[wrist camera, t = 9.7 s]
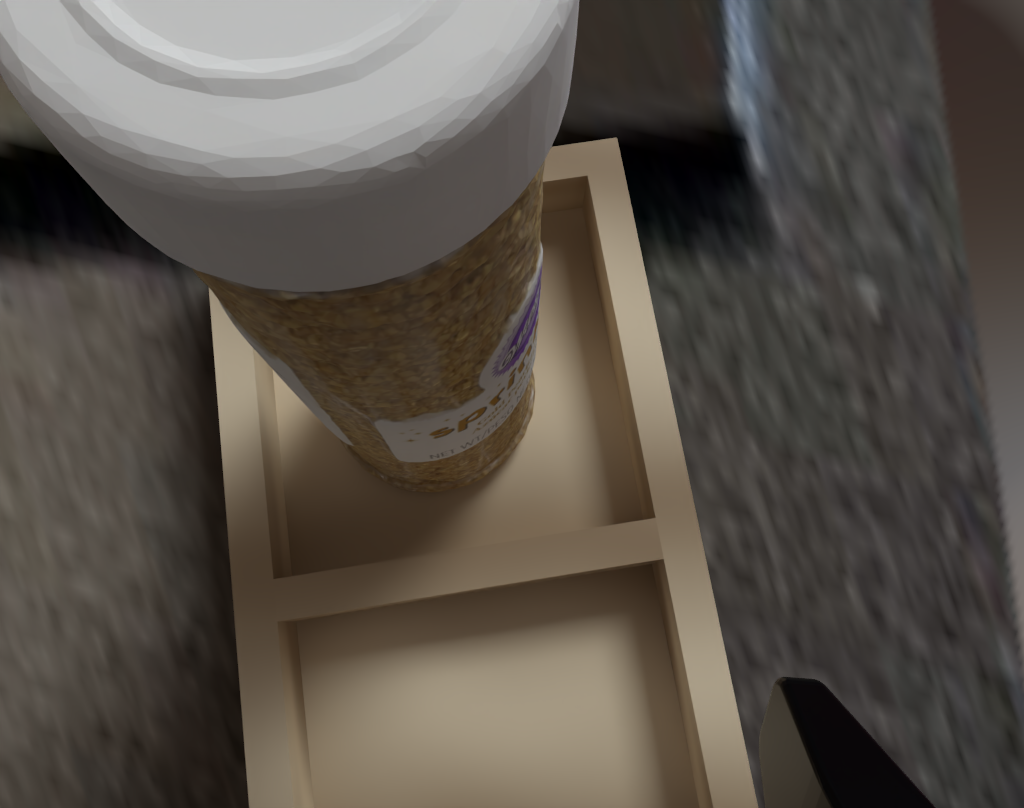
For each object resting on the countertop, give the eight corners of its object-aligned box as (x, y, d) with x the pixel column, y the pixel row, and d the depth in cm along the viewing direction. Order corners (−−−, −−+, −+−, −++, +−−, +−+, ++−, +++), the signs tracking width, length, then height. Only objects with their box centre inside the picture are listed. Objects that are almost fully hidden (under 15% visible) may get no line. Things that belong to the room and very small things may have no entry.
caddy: (762, 975, 17) (806, 1038, 15) (311, 1057, 17) (274, 1136, 14) (604, 196, 22) (616, 137, 19) (240, 249, 21) (201, 197, 19)
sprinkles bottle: (523, 506, 18) (554, 224, 5) (312, 482, 19) (-149, 149, 6) (545, 306, 20) (617, -325, 7) (347, 284, 20) (29, -378, 7)
